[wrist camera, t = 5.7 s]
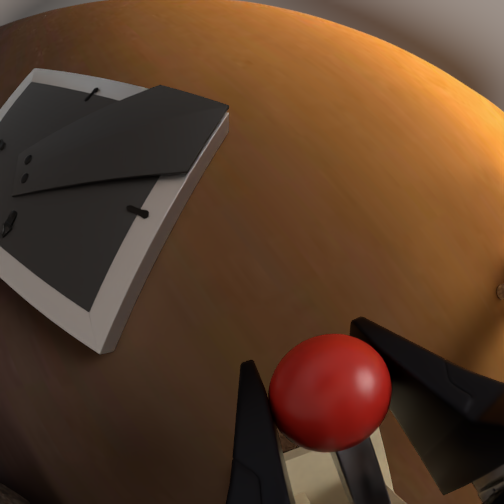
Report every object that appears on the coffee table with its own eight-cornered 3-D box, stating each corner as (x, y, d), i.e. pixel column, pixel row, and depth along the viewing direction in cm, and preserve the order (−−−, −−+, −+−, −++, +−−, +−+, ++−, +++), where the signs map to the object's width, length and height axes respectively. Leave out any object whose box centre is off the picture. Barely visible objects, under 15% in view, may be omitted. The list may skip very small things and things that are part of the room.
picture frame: (228, 132, 19) (42, 80, 20) (229, 105, 16) (31, 63, 17) (114, 351, 15) (-45, 220, 16) (94, 356, 13) (-64, 210, 13)
